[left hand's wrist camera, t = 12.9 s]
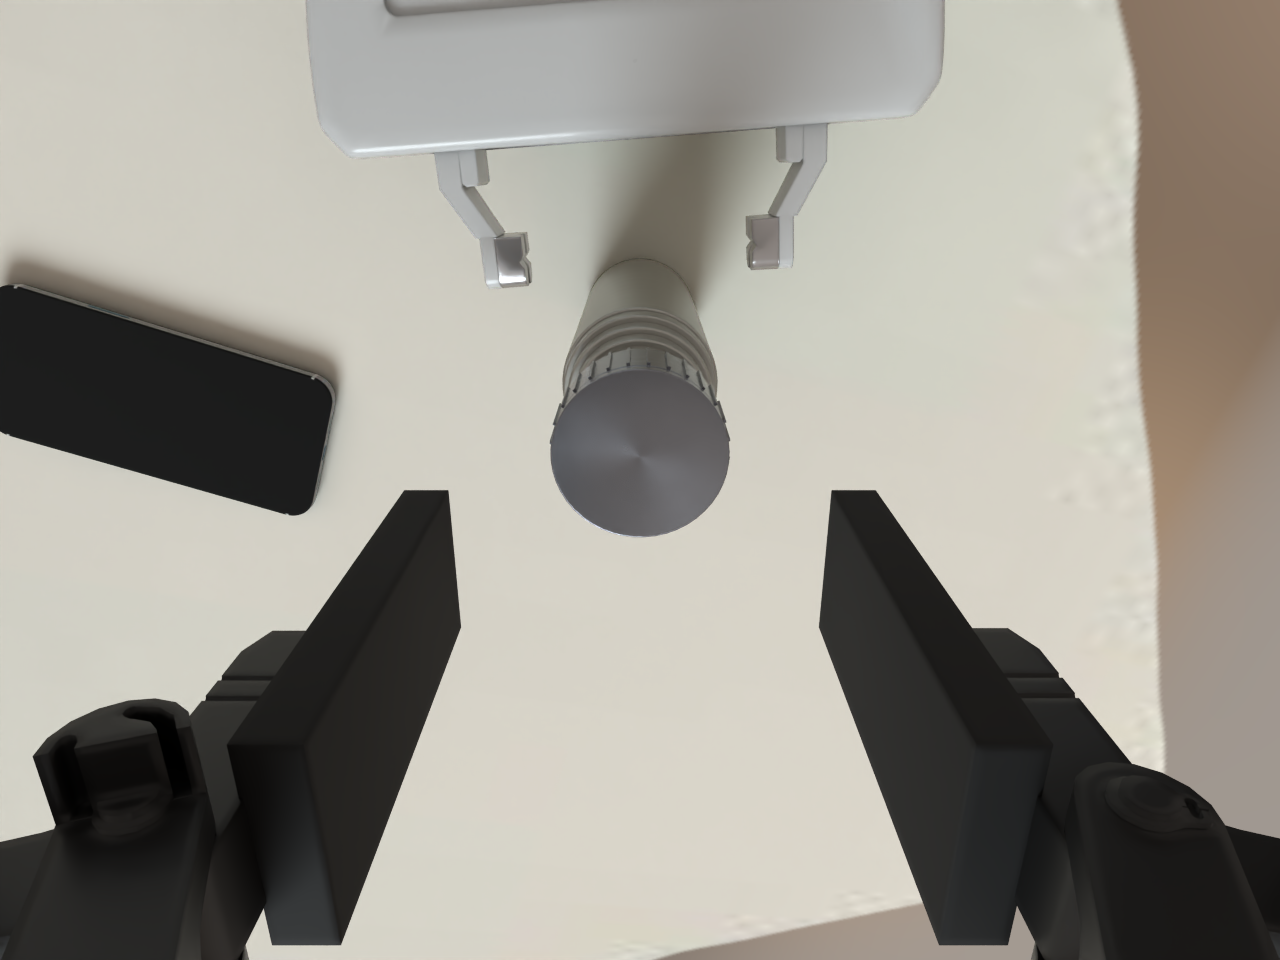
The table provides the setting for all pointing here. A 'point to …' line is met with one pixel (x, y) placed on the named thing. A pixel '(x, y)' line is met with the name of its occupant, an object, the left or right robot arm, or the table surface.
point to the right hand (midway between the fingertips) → (639, 276)
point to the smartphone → (161, 401)
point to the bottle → (639, 319)
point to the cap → (640, 443)
